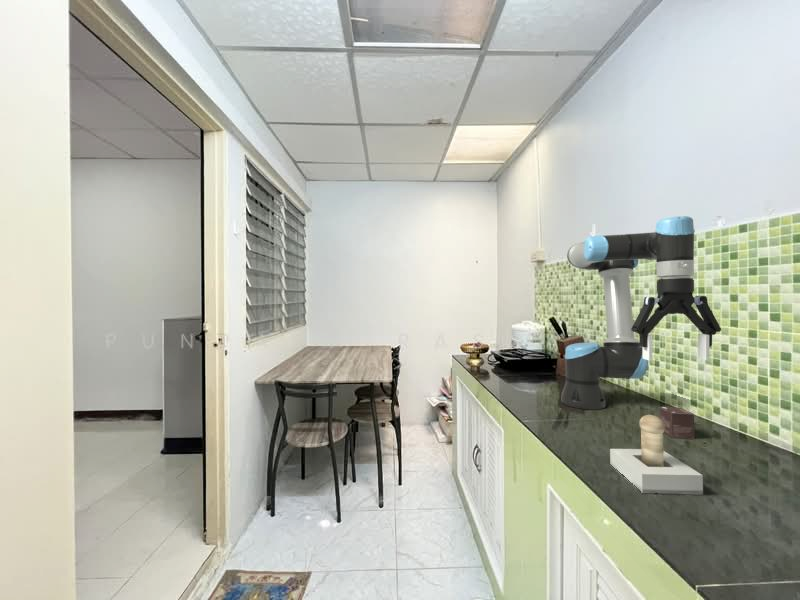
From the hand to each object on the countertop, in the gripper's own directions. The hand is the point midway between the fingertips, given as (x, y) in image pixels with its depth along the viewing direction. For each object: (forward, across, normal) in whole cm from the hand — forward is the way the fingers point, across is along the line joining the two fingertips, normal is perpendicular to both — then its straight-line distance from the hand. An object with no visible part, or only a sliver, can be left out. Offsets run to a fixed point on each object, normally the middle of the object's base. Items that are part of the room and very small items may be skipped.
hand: (675, 359), depth 87 cm
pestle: (+24, -14, -14) cm, 30 cm away
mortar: (+24, -14, -14) cm, 31 cm away
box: (+25, +9, +13) cm, 30 cm away
